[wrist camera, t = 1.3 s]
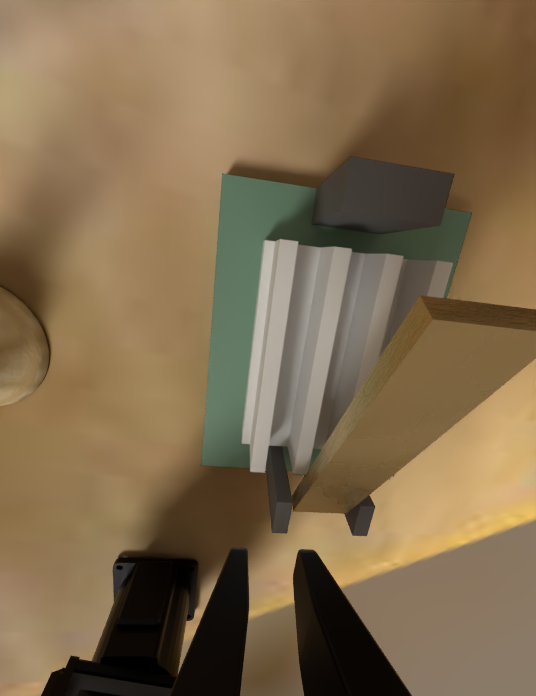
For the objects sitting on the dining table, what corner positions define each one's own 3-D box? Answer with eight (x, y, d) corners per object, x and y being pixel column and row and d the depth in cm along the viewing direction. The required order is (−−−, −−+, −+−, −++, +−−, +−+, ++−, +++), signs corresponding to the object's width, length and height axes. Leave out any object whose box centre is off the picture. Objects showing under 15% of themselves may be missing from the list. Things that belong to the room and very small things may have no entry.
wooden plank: (344, 498, 17) (346, 513, 17) (292, 495, 17) (293, 511, 16) (541, 310, 7) (564, 334, 6) (419, 295, 7) (433, 319, 6)
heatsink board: (387, 467, 23) (439, 545, 17) (203, 456, 22) (186, 537, 15) (460, 214, 18) (573, 194, 12) (223, 178, 16) (210, 132, 10)
